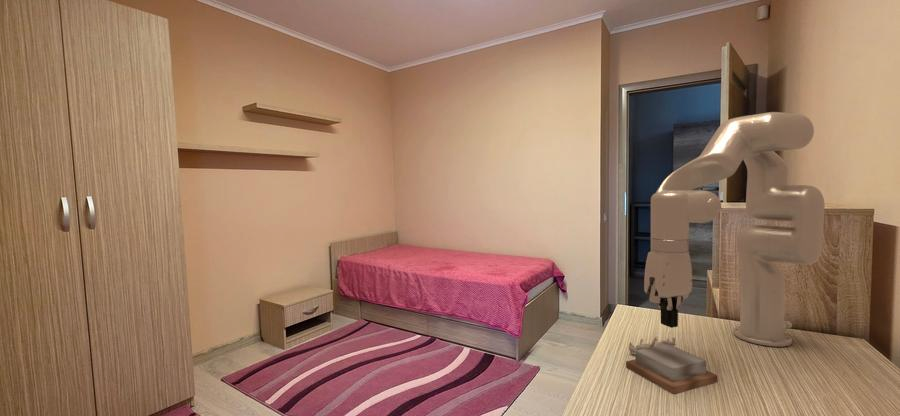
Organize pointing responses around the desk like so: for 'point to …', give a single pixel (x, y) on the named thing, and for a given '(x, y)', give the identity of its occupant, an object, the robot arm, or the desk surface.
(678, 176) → the robot arm
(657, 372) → the tower pedestal
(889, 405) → the desk surface
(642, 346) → the soldier figure
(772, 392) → the desk surface
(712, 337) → the desk surface
